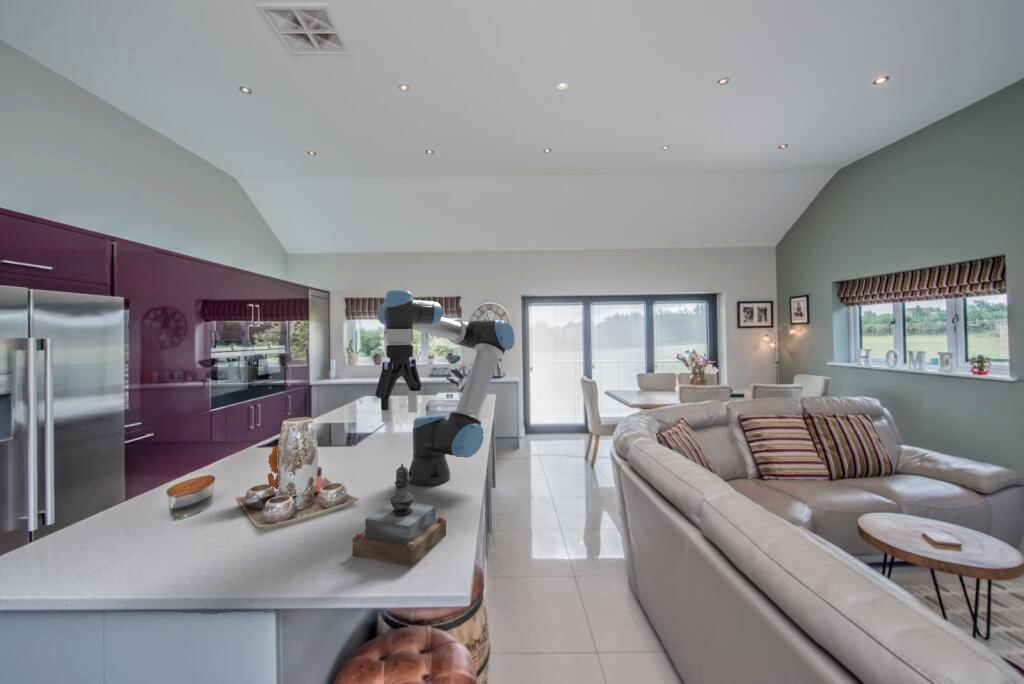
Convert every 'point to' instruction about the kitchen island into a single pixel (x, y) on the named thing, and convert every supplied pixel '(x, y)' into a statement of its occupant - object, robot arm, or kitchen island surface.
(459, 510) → the kitchen island surface
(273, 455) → the toy dinosaur
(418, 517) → the sharpening stone holder
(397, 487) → the dark grey tall piece
